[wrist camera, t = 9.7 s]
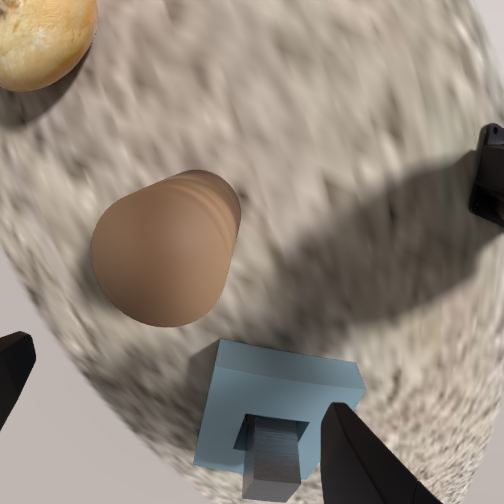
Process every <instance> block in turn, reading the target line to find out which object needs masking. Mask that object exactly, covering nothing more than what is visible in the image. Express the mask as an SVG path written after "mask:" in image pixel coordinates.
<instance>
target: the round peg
mask: <svg viewBox="0 0 504 504" xmlns="http://www.w3.org/2000/svg"><path fill="white" fill-rule="evenodd" d="M240 221H241V208H240V203H239V200H238V197H237V195H236V193H235V192H234V190H233V189H232V187H231V186H230V185H229V184H228V183H227V182H226V181H225V180H224V179H222V178H221V177H219V176H218V175H216V174H214V173H211V172H208V171H203V170H189V171H185V172H182V173H179V174H177V175H174V176H172V177H169V178H167V179H164V180H162V181H160V182H157V183H155V184H153V185H150V186H148V187H146V188H143V189H141V190H139V191H137V192H134V193H132V194H130V195H128V196H125V197H123V198H121V199H119V200H118V201H117V202H115V203H114V204H112V205H111V206H110V207H109V208H108V209H107V210H106V211H105V212H104V214H103V215H102V216H101V218H100V220H99V221H98V223H97V225H96V228H95V230H94V233H93V237H92V242H91V261H92V267H93V270H94V274H95V277H96V279H97V282H98V284H99V285H100V287H101V289H102V291H103V292H104V294H105V295H106V297H107V298H108V299H109V300H110V301H111V302H112V304H114V305H115V306H116V307H117V308H118V309H119V310H120V311H122V312H123V313H124V314H126V315H127V316H129V317H131V318H132V319H134V320H136V321H139V322H141V323H144V324H147V325H151V326H156V327H178V326H183V325H186V324H189V323H192V322H194V321H196V320H198V319H199V318H201V317H203V316H204V315H205V314H206V313H208V312H209V311H210V310H211V309H212V307H213V306H214V305H215V304H216V302H217V301H218V299H219V298H220V296H221V293H222V291H223V289H224V285H225V282H226V278H227V274H228V270H229V266H230V262H231V258H232V254H233V250H234V246H235V242H236V238H237V234H238V230H239V226H240Z"/></svg>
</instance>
